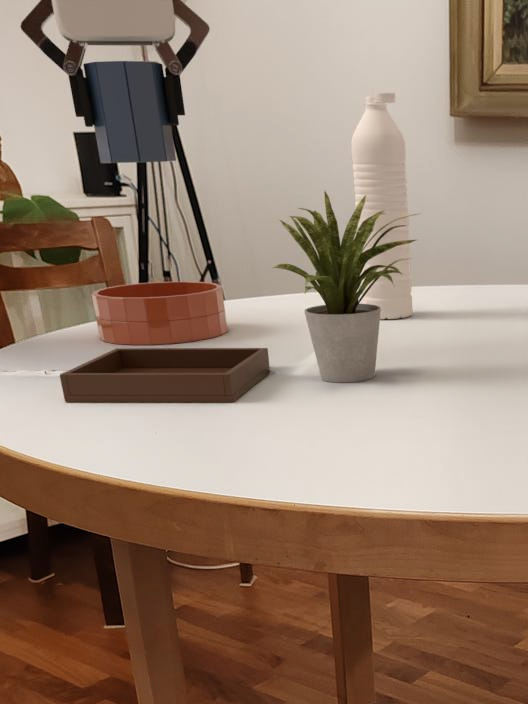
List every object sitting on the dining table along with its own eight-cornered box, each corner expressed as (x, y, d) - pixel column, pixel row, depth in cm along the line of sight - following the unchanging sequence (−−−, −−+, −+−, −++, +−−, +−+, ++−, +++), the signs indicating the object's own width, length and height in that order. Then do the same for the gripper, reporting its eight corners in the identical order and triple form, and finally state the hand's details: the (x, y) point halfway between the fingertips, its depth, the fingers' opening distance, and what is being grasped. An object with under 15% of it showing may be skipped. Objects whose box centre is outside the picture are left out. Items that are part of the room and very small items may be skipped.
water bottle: (357, 314, 129) (342, 96, 117) (405, 310, 130) (395, 96, 119) (373, 324, 121) (358, 92, 110) (423, 320, 123) (414, 92, 112)
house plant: (394, 400, 85) (383, 193, 78) (248, 393, 88) (223, 194, 81) (439, 366, 97) (433, 185, 90) (310, 362, 101) (293, 187, 93)
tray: (64, 402, 87) (59, 374, 85) (120, 373, 97) (116, 348, 96) (233, 402, 85) (229, 374, 84) (270, 372, 96) (267, 347, 95)
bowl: (80, 350, 109) (70, 298, 106) (130, 328, 121) (122, 281, 119) (205, 350, 108) (198, 297, 105) (243, 328, 120) (237, 280, 118)
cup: (91, 163, 90) (73, 62, 86) (118, 162, 96) (102, 67, 92) (160, 161, 89) (144, 60, 86) (183, 160, 95) (169, 65, 92)
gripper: (198, -98, 88) (225, 125, 96) (-10, -106, 84) (37, 128, 92) (202, -118, 82) (231, 123, 90) (-23, -128, 78) (28, 126, 86)
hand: (132, 123), depth 91 cm, fingers closed on cup, 6 cm apart
